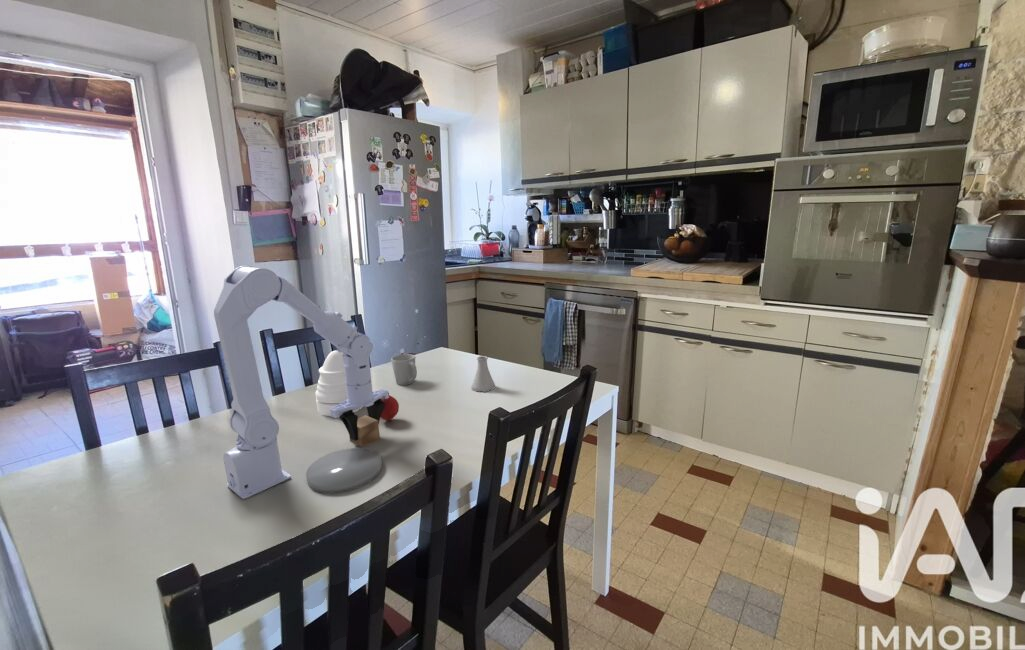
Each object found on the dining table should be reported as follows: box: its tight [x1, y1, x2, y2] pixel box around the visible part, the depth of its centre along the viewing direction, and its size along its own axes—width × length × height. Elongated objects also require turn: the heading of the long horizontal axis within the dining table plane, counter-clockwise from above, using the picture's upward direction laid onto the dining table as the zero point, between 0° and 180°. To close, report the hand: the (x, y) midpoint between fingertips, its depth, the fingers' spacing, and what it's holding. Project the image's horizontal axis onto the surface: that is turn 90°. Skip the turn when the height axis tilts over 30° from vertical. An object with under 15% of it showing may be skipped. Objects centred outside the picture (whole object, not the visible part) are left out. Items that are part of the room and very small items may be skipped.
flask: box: [470, 355, 496, 393], centre depth 142 cm, size 7×7×10 cm
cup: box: [390, 353, 418, 386], centre depth 147 cm, size 8×10×8 cm
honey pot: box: [314, 349, 363, 417], centre depth 129 cm, size 13×13×18 cm
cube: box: [349, 414, 381, 448], centre depth 111 cm, size 5×5×5 cm
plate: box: [305, 447, 383, 494], centre depth 98 cm, size 15×15×2 cm
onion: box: [380, 392, 400, 422], centre depth 121 cm, size 6×6×8 cm
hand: (364, 434), depth 111 cm, fingers open, 5 cm apart
